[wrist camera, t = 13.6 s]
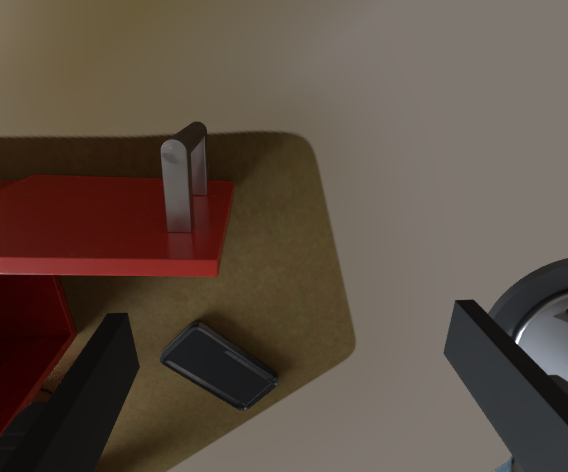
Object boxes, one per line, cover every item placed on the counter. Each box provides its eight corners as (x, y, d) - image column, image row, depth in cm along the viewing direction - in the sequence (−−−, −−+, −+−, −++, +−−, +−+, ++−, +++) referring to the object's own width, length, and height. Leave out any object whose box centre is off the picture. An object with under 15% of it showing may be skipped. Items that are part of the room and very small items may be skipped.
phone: (243, 412, 50) (156, 360, 45) (243, 406, 51) (158, 354, 46) (282, 381, 48) (195, 323, 43) (281, 375, 49) (196, 317, 44)
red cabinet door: (18, 107, 32) (-215, 135, 16) (234, 118, 34) (214, 153, 18) (37, 185, 35) (-144, 273, 19) (234, 191, 37) (218, 277, 21)
